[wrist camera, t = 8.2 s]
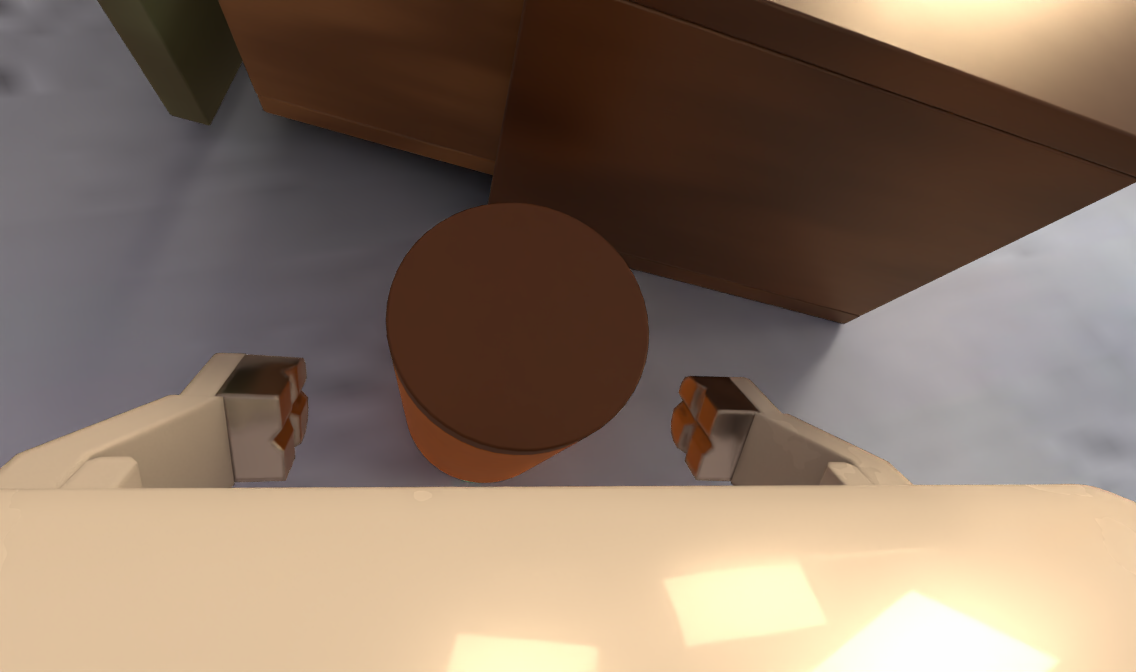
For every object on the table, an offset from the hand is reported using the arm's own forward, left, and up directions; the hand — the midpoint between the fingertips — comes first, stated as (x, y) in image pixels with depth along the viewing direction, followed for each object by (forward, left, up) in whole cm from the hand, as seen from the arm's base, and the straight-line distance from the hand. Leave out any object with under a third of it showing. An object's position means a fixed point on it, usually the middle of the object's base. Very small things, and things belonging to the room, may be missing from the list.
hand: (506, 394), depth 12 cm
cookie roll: (0, -1, -6) cm, 6 cm away
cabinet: (-6, -14, -6) cm, 16 cm away
